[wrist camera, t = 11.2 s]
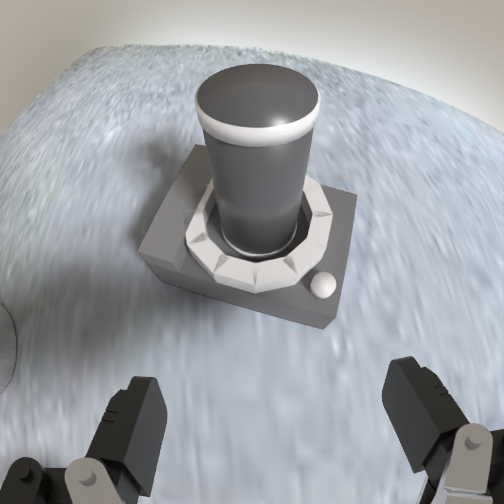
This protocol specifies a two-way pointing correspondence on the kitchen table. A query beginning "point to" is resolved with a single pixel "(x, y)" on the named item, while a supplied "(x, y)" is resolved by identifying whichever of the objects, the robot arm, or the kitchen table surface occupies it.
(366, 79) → the kitchen table surface
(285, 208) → the lens
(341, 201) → the camera body
